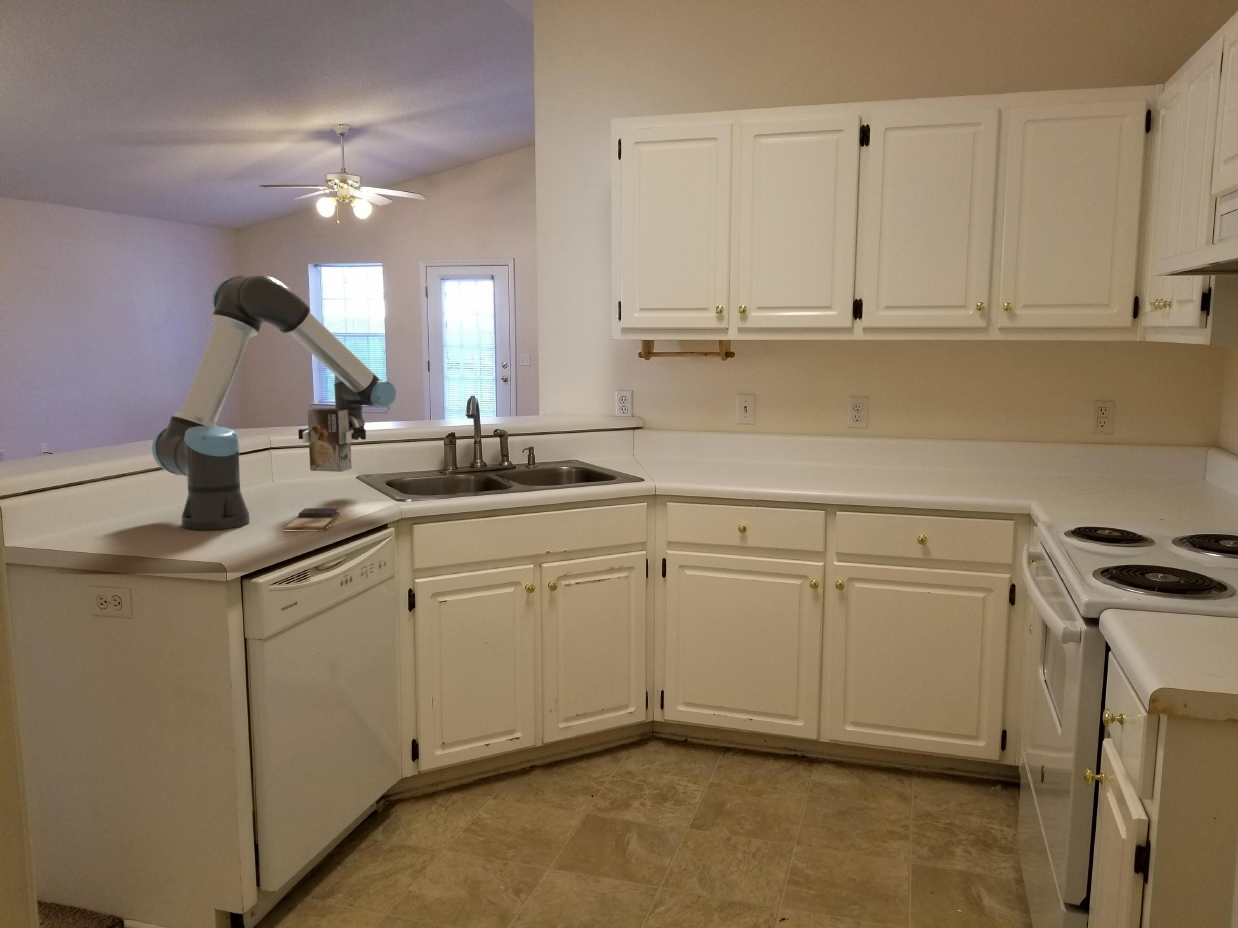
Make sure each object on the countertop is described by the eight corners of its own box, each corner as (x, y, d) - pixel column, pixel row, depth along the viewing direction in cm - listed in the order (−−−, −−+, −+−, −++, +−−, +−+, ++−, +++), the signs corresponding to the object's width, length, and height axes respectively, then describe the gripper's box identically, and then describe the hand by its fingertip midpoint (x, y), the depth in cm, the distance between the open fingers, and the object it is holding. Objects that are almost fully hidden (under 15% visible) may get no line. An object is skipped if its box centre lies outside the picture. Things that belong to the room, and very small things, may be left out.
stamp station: (283, 531, 213) (282, 523, 213) (302, 515, 231) (302, 507, 231) (324, 531, 214) (324, 522, 214) (340, 515, 232) (340, 507, 232)
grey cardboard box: (352, 469, 239) (351, 408, 236) (340, 472, 232) (339, 410, 230) (321, 467, 241) (319, 407, 238) (308, 470, 234) (306, 409, 232)
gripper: (384, 441, 255) (371, 452, 233) (301, 441, 252) (281, 452, 230) (383, 415, 254) (370, 423, 232) (300, 415, 251) (280, 423, 229)
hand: (326, 437), depth 231 cm, fingers closed on grey cardboard box, 10 cm apart
